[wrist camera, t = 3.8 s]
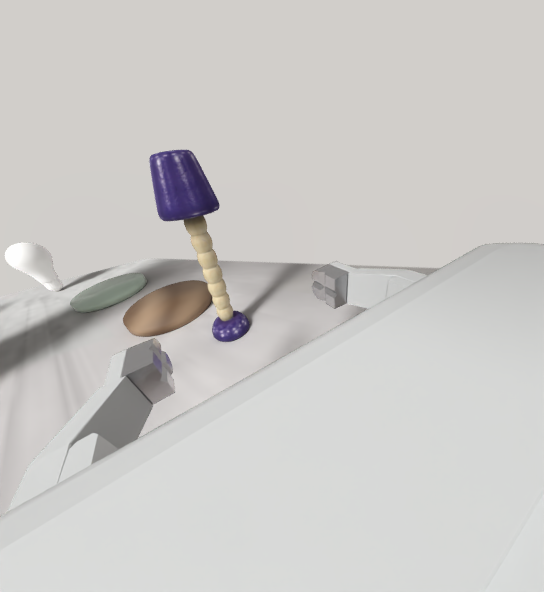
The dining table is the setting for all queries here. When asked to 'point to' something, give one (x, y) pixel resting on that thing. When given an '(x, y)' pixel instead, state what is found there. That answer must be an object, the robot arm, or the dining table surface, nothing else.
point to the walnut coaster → (168, 308)
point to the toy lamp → (195, 227)
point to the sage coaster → (108, 292)
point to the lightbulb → (34, 263)
